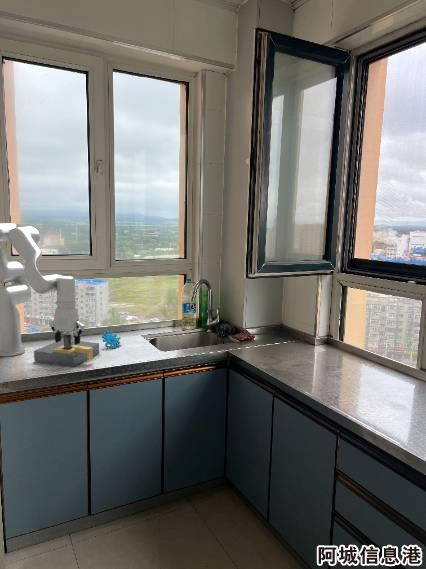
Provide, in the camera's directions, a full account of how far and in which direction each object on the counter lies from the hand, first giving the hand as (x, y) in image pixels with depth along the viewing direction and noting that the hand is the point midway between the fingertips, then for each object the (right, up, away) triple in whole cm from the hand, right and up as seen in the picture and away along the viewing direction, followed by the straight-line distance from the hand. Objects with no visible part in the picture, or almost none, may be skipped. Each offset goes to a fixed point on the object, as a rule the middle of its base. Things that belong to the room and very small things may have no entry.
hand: (67, 342), depth 188 cm
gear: (+14, -6, +23) cm, 28 cm away
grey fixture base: (-2, -8, +6) cm, 10 cm away
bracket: (+3, -6, 0) cm, 7 cm away
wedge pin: (0, -8, +1) cm, 8 cm away
